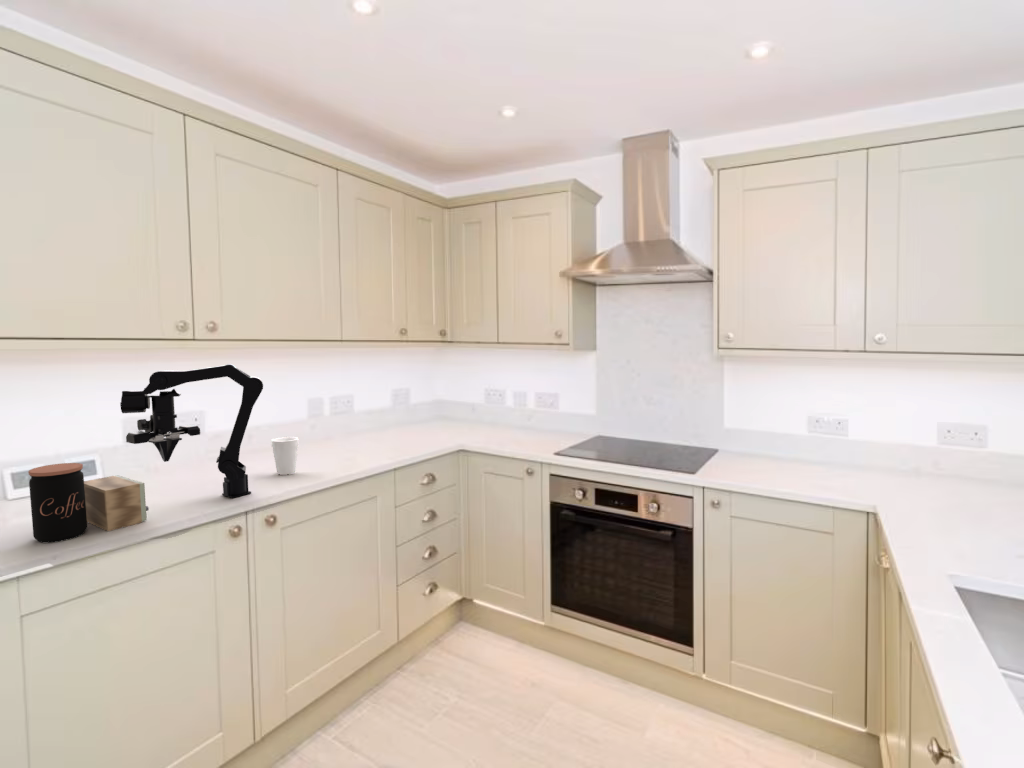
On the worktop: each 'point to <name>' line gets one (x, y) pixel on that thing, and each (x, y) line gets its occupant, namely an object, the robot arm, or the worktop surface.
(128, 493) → the cabinet
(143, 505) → the door
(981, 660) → the worktop surface
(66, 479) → the coffee jar
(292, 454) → the foam cup
